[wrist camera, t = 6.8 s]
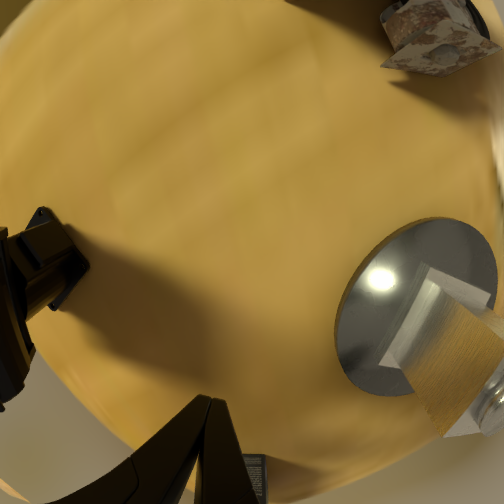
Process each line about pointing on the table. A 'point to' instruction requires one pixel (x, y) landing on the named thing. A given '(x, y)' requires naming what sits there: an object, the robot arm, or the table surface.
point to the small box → (258, 475)
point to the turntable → (403, 292)
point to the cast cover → (449, 352)
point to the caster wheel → (435, 36)
